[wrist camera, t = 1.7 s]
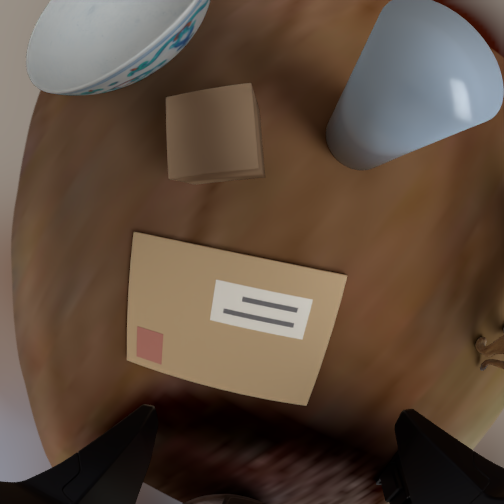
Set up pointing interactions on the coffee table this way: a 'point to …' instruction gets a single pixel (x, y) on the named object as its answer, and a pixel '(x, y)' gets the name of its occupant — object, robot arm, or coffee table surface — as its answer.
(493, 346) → the lion figurine
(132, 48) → the chinaware
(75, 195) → the coffee table surface
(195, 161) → the walnut block
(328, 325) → the envelope
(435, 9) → the grey cylinder
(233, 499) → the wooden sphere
